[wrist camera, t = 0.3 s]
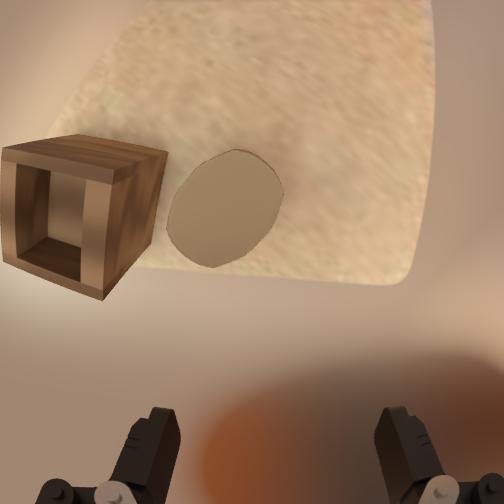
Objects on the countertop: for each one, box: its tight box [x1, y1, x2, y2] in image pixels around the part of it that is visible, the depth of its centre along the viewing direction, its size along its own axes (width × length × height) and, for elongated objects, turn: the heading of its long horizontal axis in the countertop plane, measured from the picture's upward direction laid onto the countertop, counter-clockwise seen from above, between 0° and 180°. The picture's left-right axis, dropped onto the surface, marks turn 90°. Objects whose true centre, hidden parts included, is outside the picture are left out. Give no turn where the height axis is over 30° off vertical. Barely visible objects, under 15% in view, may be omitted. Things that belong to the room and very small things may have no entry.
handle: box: [166, 149, 284, 268], centre depth 22 cm, size 5×6×15 cm
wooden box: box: [0, 134, 168, 301], centre depth 25 cm, size 10×11×12 cm
